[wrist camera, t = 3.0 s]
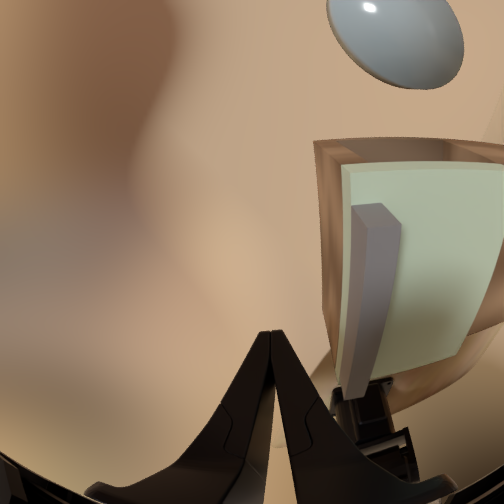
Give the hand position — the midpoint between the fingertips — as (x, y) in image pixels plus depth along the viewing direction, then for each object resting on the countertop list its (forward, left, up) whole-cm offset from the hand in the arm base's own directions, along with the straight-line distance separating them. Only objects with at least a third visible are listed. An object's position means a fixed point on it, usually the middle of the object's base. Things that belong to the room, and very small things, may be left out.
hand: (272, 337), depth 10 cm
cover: (0, -7, -2) cm, 7 cm away
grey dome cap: (+12, -8, -7) cm, 16 cm away
